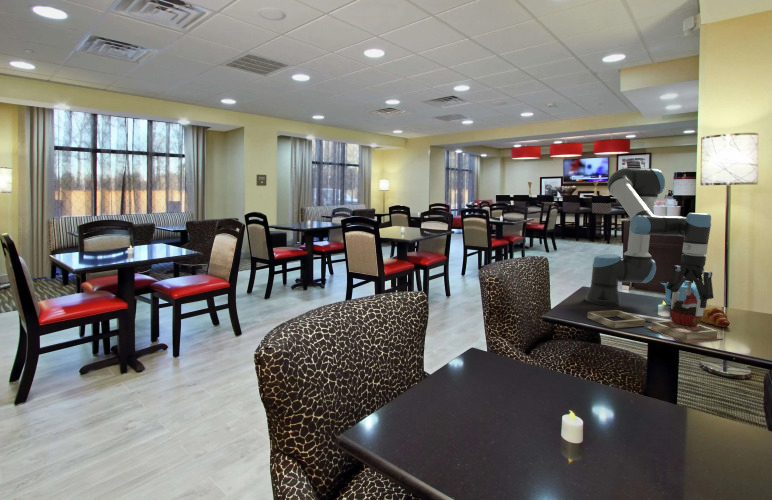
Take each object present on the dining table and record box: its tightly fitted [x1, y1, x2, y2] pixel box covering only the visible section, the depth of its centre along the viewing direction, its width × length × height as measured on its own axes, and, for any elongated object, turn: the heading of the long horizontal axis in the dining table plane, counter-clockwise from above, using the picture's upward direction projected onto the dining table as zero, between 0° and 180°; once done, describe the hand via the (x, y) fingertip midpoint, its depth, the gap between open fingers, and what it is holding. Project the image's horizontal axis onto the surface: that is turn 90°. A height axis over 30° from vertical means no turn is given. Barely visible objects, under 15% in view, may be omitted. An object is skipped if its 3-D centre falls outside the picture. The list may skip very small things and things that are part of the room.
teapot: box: [660, 280, 700, 305], centre depth 202 cm, size 18×16×13 cm
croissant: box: [701, 306, 731, 328], centre depth 182 cm, size 21×10×8 cm, turn 174°
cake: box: [670, 281, 702, 330], centre depth 163 cm, size 11×9×18 cm
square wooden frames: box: [586, 309, 724, 344], centre depth 171 cm, size 34×32×3 cm
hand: (686, 311), depth 164 cm, fingers closed on cake, 9 cm apart
